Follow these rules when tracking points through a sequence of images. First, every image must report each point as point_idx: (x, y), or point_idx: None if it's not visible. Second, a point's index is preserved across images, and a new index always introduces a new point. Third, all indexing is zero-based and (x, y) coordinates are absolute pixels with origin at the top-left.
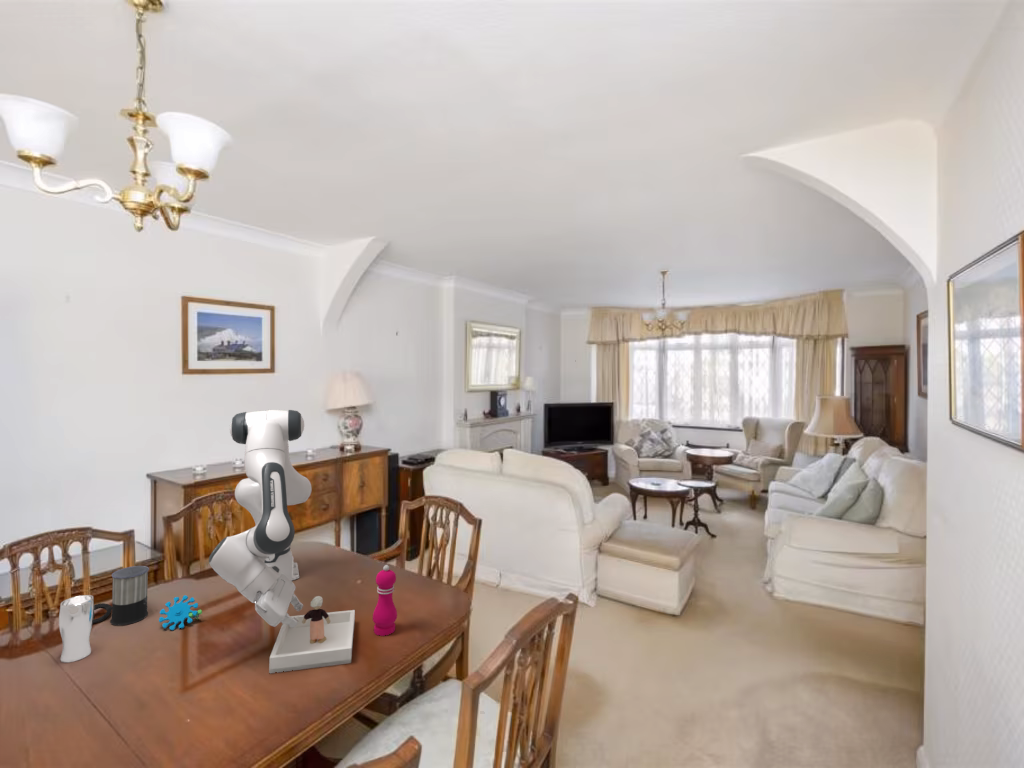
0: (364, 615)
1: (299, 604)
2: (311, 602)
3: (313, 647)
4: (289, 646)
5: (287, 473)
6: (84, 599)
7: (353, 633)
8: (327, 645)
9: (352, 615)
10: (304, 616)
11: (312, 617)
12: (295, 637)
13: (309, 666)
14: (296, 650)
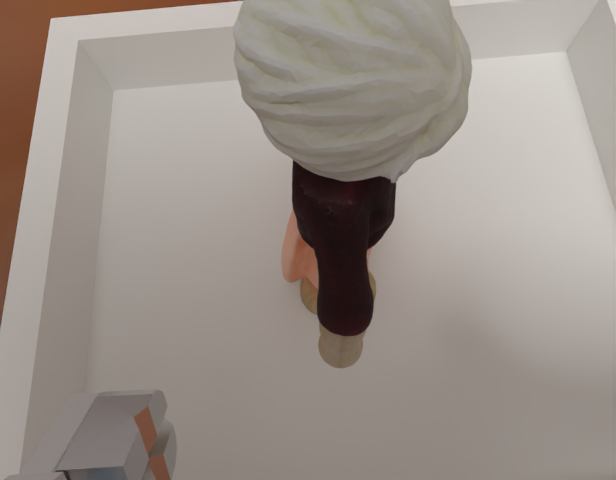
0: (25, 43)
1: (130, 447)
2: (391, 127)
3: (431, 270)
4: (396, 470)
5: None
6: None
7: None
8: (412, 180)
9: (140, 20)
10: (364, 321)
11: (394, 215)
12: (254, 449)
13: None
14: (467, 393)
